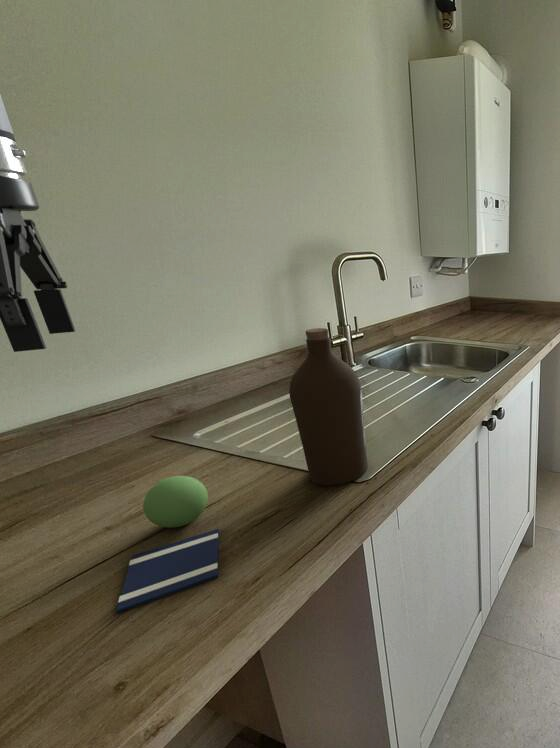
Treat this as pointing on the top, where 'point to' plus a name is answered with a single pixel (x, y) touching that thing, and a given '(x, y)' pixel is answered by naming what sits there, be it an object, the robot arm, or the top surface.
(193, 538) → the towel
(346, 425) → the olive oil
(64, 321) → the robot arm
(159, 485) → the mango
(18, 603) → the top surface
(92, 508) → the top surface
